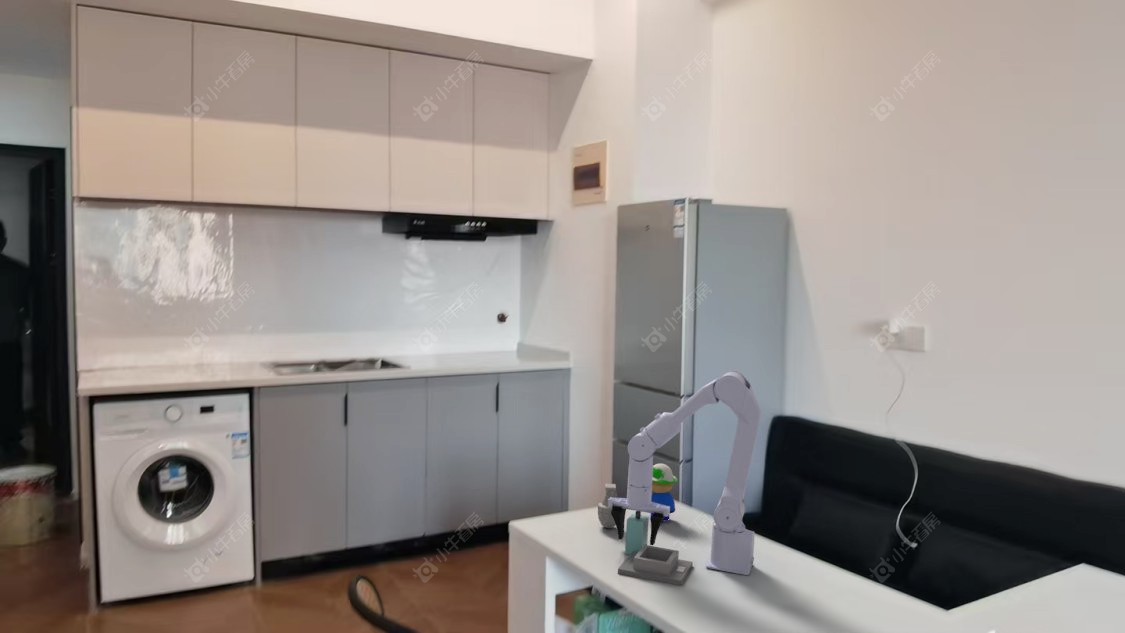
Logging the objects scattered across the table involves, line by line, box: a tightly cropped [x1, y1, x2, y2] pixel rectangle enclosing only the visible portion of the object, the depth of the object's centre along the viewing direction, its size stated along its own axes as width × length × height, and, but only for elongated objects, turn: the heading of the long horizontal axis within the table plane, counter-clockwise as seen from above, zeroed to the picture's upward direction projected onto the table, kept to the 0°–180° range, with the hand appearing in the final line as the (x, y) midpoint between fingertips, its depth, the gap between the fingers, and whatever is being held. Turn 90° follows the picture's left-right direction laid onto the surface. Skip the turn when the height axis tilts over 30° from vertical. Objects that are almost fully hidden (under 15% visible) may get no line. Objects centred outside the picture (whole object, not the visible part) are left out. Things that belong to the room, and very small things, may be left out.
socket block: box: [617, 544, 694, 586], centre depth 172 cm, size 14×12×4 cm
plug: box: [624, 511, 650, 555], centre depth 183 cm, size 4×5×10 cm
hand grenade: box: [597, 483, 619, 529], centre depth 198 cm, size 6×6×11 cm
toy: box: [649, 463, 678, 521], centre depth 207 cm, size 9×9×15 cm
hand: (636, 541), depth 183 cm, fingers open, 7 cm apart
